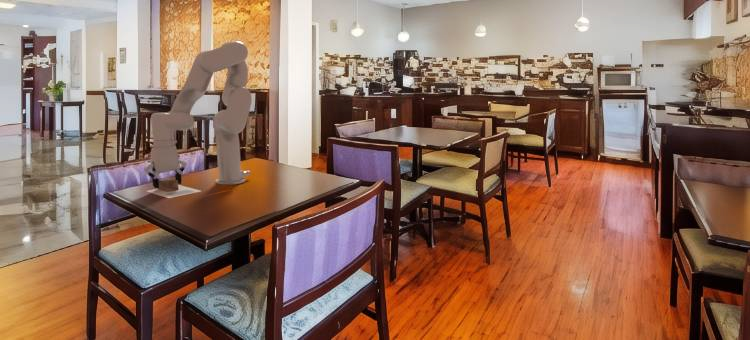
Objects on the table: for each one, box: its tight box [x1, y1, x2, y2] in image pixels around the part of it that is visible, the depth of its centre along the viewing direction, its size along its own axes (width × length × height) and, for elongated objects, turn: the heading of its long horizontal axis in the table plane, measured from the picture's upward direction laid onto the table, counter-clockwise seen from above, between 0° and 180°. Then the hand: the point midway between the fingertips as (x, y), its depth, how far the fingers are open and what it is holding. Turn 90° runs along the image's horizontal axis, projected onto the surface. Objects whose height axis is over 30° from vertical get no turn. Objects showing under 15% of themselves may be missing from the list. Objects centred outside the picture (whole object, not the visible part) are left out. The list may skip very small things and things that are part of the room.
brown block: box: [157, 177, 179, 192], centre depth 186 cm, size 4×8×4 cm, turn 52°
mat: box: [146, 184, 202, 199], centre depth 184 cm, size 14×18×1 cm
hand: (167, 185), depth 186 cm, fingers open, 8 cm apart
